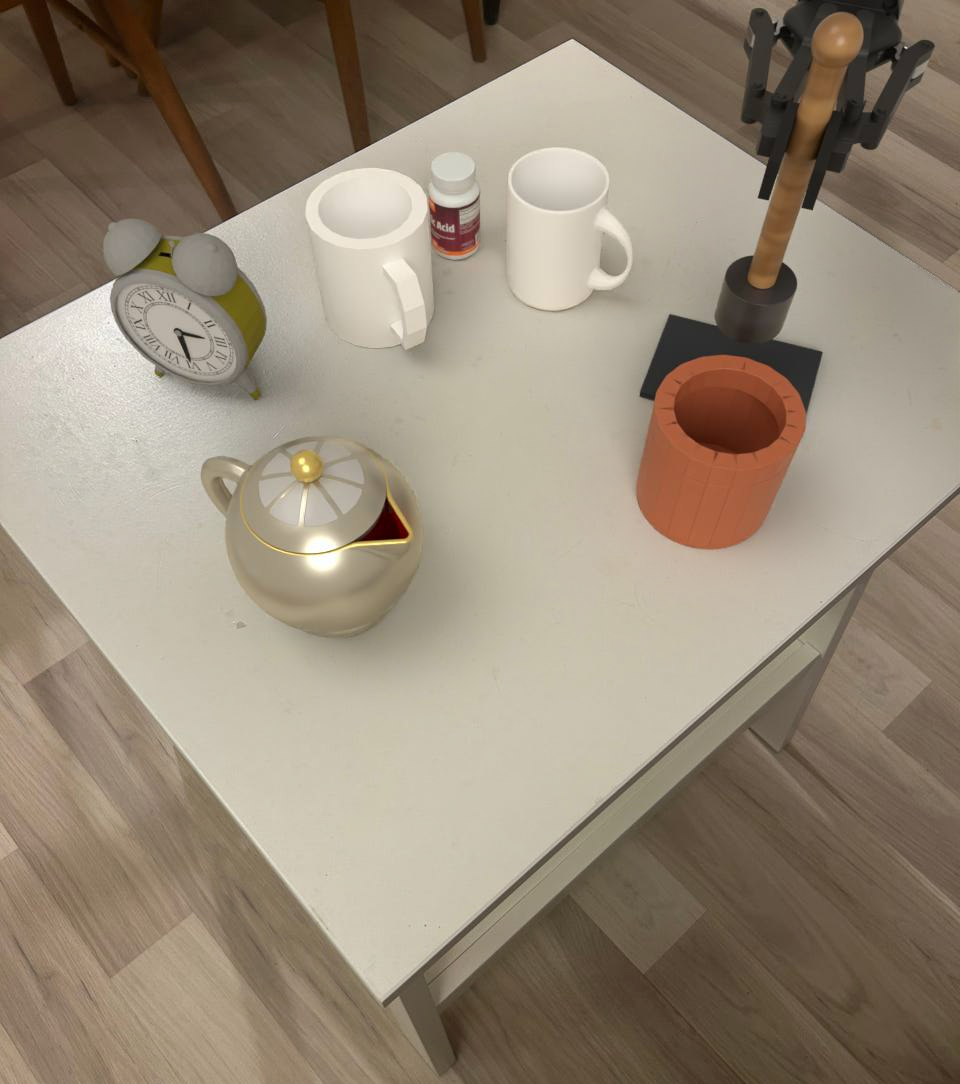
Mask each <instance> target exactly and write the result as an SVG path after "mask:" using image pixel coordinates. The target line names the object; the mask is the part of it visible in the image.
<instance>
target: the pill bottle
mask: <svg viewBox="0 0 960 1084" xmlns="http://www.w3.org/2000/svg"><path fill="white" fill-rule="evenodd" d="M476 178H477V174H476V163H475V161H474V159H473V158H472V157H471V156H469V155H468V154H466V153H463V152H460V151H448V152H444V153H443V152H442V153H441V154H438V155H437V156H436V157H434V158H433V160H432V161H431V163H430V181H429V184H428V188H427V191H428V192H427V194H428V215H429V231H430V244H431V247H432V249H433V251H434V252H435V253H436V254H437V255H438V256H440V257H442V258H444V259H446V260H453V261H454V260H455V261H456V260H463V259H466V258H469V257H471V256H473V255H474V254H476V252H477V251H478V249H479V247H480V245H481V187H480V184H479V181H478V180H477V179H476Z"/></svg>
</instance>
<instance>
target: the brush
mask: <svg viewBox="0 0 960 1084" xmlns="http://www.w3.org/2000/svg"><path fill="white" fill-rule="evenodd" d="M862 43H863V28H862V25H861V23H860V21H859V20H858V18H857V17H855V16H854V15H853V14H851V13H848V12H837V13H834V14H831V15H829V16H828V17H826V18H825V19H824V20H823V21H822V22H821V23H820V24H819V25H818V27H817V28H816V30H815V32H814V34H813V37H812V42H811V51H812V55H813V60H812V63H811V67H810V70H809V73H808V77H807V80H806V83H805V87H804V90H803V93H802V95H801V97H800V99H799V102H798V103H799V106H798V110H797V114H796V118H795V121H794V124H793V127H792V131H791V134H790V137H789V141H788V144H787V147H786V151H785V154H784V157H783V160H782V163H781V166H780V169H779V172H778V175H777V178H776V180H775V183H774V186H773V189H772V192H771V195H770V199H769V202H768V206H767V210H766V213H765V216H764V219H763V222H762V226H761V230H760V233H759V237H758V240H757V243H756V247H755V250H754V253H753V255H747V256H743V257H742V256H741V257H740V258H737V259H736V260H734V261H732V262H731V263H730V264H729V265H728V267H727V268H726V271H725V274H724V277H723V280H722V281H723V282H722V285H721V288H720V292H719V295H718V298H717V302H716V307H715V310H714V316H713V317H714V322H715V325H716V326H718V328H719V329H720V330H721V331H722V333H724V334H725V335H726V336H728V337H729V338H731V339H733V340H736V341H738V342H742V343H748V344H758V343H764V342H767V341H769V340H771V339H773V340H774V339H775V338H776V337H777V336H778V335H779V334H780V333H781V331H782V330H783V328H784V325H785V323H786V319H787V316H788V313H789V311H790V308H791V305H792V302H793V299H794V297H795V294H796V292H797V289H798V279H797V276H796V274H795V272H794V270H792V268H791V267H790V266H789V265H788V264H786V263H785V262H783V261H784V258H785V254H786V252H787V249H788V246H789V243H790V240H791V237H792V233H793V231H794V227H795V225H796V222H797V220H798V216H799V213H800V210H801V209H802V208H801V207H802V203H803V200H804V197H805V194H806V191H807V187H808V184H809V181H810V178H811V174H812V171H813V168H814V165H815V162H816V158H817V155H818V152H819V149H820V146H821V143H822V141H823V138H824V135H825V132H826V129H827V126H828V123H829V120H830V118H831V115H832V112H833V110H835V106H836V104H837V97H838V94H839V91H840V88H841V85H842V82H843V80H844V77H845V74H846V71H847V68H848V65H849V64H850V63H851V62H852V61H853V60H854V59H855V58H856V56H857V55H858V53H859V51H860V49H861V47H862Z"/></svg>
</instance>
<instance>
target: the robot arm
mask: <svg viewBox="0 0 960 1084" xmlns="http://www.w3.org/2000/svg"><path fill="white" fill-rule="evenodd" d="M904 3H905V0H796V3H795V5H793V6H792V7H790V8H788V9H787V10H786V11H785V13H784V15H783V16H782V17H771V16H770V13H769V12H768V10H766V9H765V8H763V7H755V8H752V10H751V12H750V15H749V19H748V23H747V27H746V32H745V37H744V41H743V45H742V48H743V51H744V53H745V55H746V57H747V59H748V67H747V73H746V79H745V86H744V93H743V99H742V105H741V111H740V116H739V117H740V121H741V122H742V123H743V124H745V125H753V124H756V123H759V124H761V128H760V131H759V134H758V138H757V143H756V146H755V154H756V156H760V157H765V158H768V159H767V162H766V167H765V170H764V174H763V177H762V179H761V180H762V181H761V184H760V188H759V191H758V195H757V199H759V200H764V201H767V202H770V199H771V196H772V193H773V190H774V186H775V183H776V180H777V176H778V173H779V170H780V166H781V163H782V160H783V157H784V154H785V151H786V147H787V144H788V141H789V137H790V134H791V131H792V127H793V124H794V121H795V118H796V114H797V110H798V106H799V103H800V102H799V101H800V99H801V96H802V93H803V90H804V87H805V83H806V80H807V77H808V73H809V70H810V67H811V63H812V60H813V55H812V51H811V42H812V37H813V34H814V32H815V30H816V28H817V27H818V25H819V24H820V23H821V22H822V21H823V20H824V19H825V18H826V17H828V16H829V15H831V14H834V13H837V12H848V13H851V14H853V15H854V16H855V17H857V18H858V20H859V21H860V23H861V25H862V28H863V43H862V47H861V49H860V51H859V53H858V55H857V56H856V58H855V59H854V60H853V61H852V62H851V63H850V64H849V65H848V68H847V71H846V74H845V77H844V80H843V82H842V85H841V88H840V91H839V94H838V97H837V100H836V104H835V106H836V107H835V109H833V112H832V115H831V118H830V120H829V123H828V126H827V129H826V132H825V135H824V138H823V141H822V143H821V146H820V149H819V152H818V155H817V158H816V162H815V165H814V168H813V171H812V174H811V178H810V181H809V184H808V187H807V190H806V193H805V196H804V199H803V202H802V205H801V208H800V209H804V210H809V211H812V212H813V210H814V207H815V205H816V202H817V199H818V197H819V194H820V191H821V187H822V185H823V182H824V179H825V176H826V173H827V172H832V173H836V174H840V173H842V172H843V171H844V170H845V168H846V165H847V162H848V159H849V157H850V154H851V152H852V148H853V146H854V145H856V144H860V147H861V148H863V149H865V150H868V151H874V150H876V149H877V148H879V145H880V144H881V141H882V140H883V138H884V136H885V133H886V132H887V130H888V128H889V126H890V124H891V122H892V120H893V118H894V116H895V114H896V112H897V110H898V108H899V106H900V105H901V102H902V100H903V98H904V96H905V94H906V93H907V92H908V91H909V90H911V89H913V88H914V87H915V86H917V85H918V84H920V82H921V81H922V80H923V77H924V74H925V71H926V70H927V67H928V64H929V62H930V59H931V57H932V54H933V52H934V50H935V47H936V45H935V43H934V42H933V41H932V40H929V39H921V40H917V42H915V43H913V44H911V43H906V42H905V41H902V39H903V31H902V28H901V27H900V25H899V22H900V18H901V14H902V10H903V7H904ZM779 40H780V42H781V44H782V45H783V46H784V48H785V49H786V50H787V52H788V53H789V54H790V57H792V60H791V62H790V64H789V65H788V67H787V69H786V70H785V73H784V74H783V75H782V78H781V79H780V82H778V85H777V87H776V88H775V90H774V91H773V92H771V91H769V90H767V86H768V79H769V72H770V64H771V58H772V50H773V49H774V48H775V47H777V44H778V41H779ZM890 62H891V64H890V67H889V70H890V71H891V74H890V75H889V77H888V79H887V81H886V83H885V85H884V86H883V88H882V91H881V92H880V94H879V96H878V98H877V100H876V102H875V104H874V106H873V108H872V110H871V111H864V109H865V106H866V104H867V100H864V99H865V88H866V77H867V73H870V72H871V71H873V70H875V69H878V68H879V67H882V66H883V65H886V64H889V63H890Z"/></svg>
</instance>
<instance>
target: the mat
mask: <svg viewBox="0 0 960 1084" xmlns="http://www.w3.org/2000/svg"><path fill="white" fill-rule="evenodd" d="M823 353H824V352H823V351H821V350H817V349H813V348H809V347H805V346H801V345H797V344H793V343H789V342H785V341H781V340H777V339H774V338H773V339H771V340H769V341H767V342H764V343H758V344H748V343H742V342H738V341H736V340H733V339H731V338H729V337H728V336H726V335H725V334H724V333H722V331H721V330H720V329H719V328H718V326H717V324H712V323H708V322H704V321H700V320H696V319H692V318H687V317H684V316H679V315H676V314H672V313H669V315H668V317H667V320H666V322H665V324H664V328H663V329H662V333H661V335H660V338H659V341H658V343H657V346H656V349H655V351H654V353H653V357H652V358H651V362H650V364H649V367H648V370H647V372H646V375H645V377H644V381H643V383H642V386H641V388H640V390H639V397H641V398H644V399H648V400H651V401H655V396H656V392H657V390H658V388H659V387H660V385H661V383H662V382H663V380H664V379H665V377H666V376H667V375H668V374H669V373H670V372H672V371H673V370H674V369H676V368H677V367H678V366H680V365H681V364H683V363H686V362H689V361H691V360H694V359H697V358H700V357H705V356H715V355H730V356H738V357H745V358H749V359H751V360H754V361H757V362H759V363H762V364H765V365H767V366H769V367H771V368H772V369H774V370H775V371H776V372H778V373H779V374H781V375H782V376H784V377H785V378H786V379H787V380H788V381H789V382H790V383H791V384H792V386H793V387H794V388H795V389H796V390H797V392H798V393H799V395H800V397H801V400H802V403H803V405H804V408H805V411H806V415H807V414H808V410H809V407H810V402H811V398H812V394H813V391H814V388H815V383H816V379H817V375H818V372H819V368H820V365H821V360H822V358H823Z"/></svg>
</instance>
